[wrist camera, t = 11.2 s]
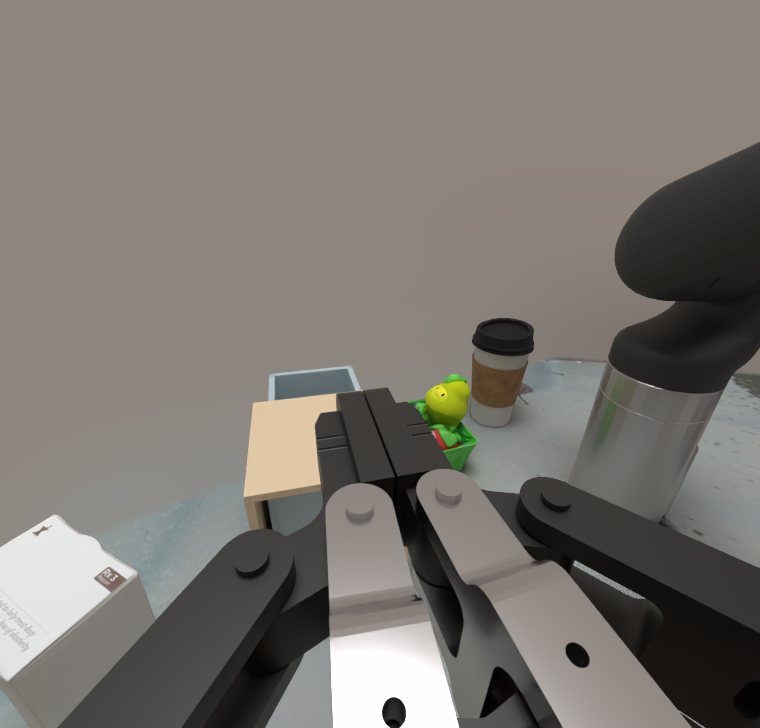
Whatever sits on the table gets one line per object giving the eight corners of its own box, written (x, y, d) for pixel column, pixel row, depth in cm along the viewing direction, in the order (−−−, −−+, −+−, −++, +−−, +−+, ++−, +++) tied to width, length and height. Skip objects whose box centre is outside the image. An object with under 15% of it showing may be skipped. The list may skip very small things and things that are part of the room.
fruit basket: (386, 435, 54) (387, 365, 49) (440, 423, 57) (447, 356, 52) (420, 490, 44) (426, 411, 39) (483, 473, 47) (497, 396, 42)
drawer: (353, 444, 51) (351, 365, 45) (387, 564, 35) (390, 465, 30) (280, 455, 48) (269, 374, 43) (282, 588, 33) (265, 486, 27)
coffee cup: (529, 420, 58) (550, 329, 51) (493, 439, 53) (510, 342, 46) (487, 396, 64) (500, 312, 57) (451, 412, 59) (461, 323, 53)
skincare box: (32, 732, 25) (-92, 594, 18) (123, 642, 30) (51, 507, 23) (109, 820, 21) (-9, 689, 15) (197, 702, 26) (138, 563, 20)
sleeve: (375, 490, 44) (376, 388, 38) (406, 587, 34) (414, 468, 28) (271, 509, 42) (253, 402, 35) (269, 620, 31) (243, 497, 25)
